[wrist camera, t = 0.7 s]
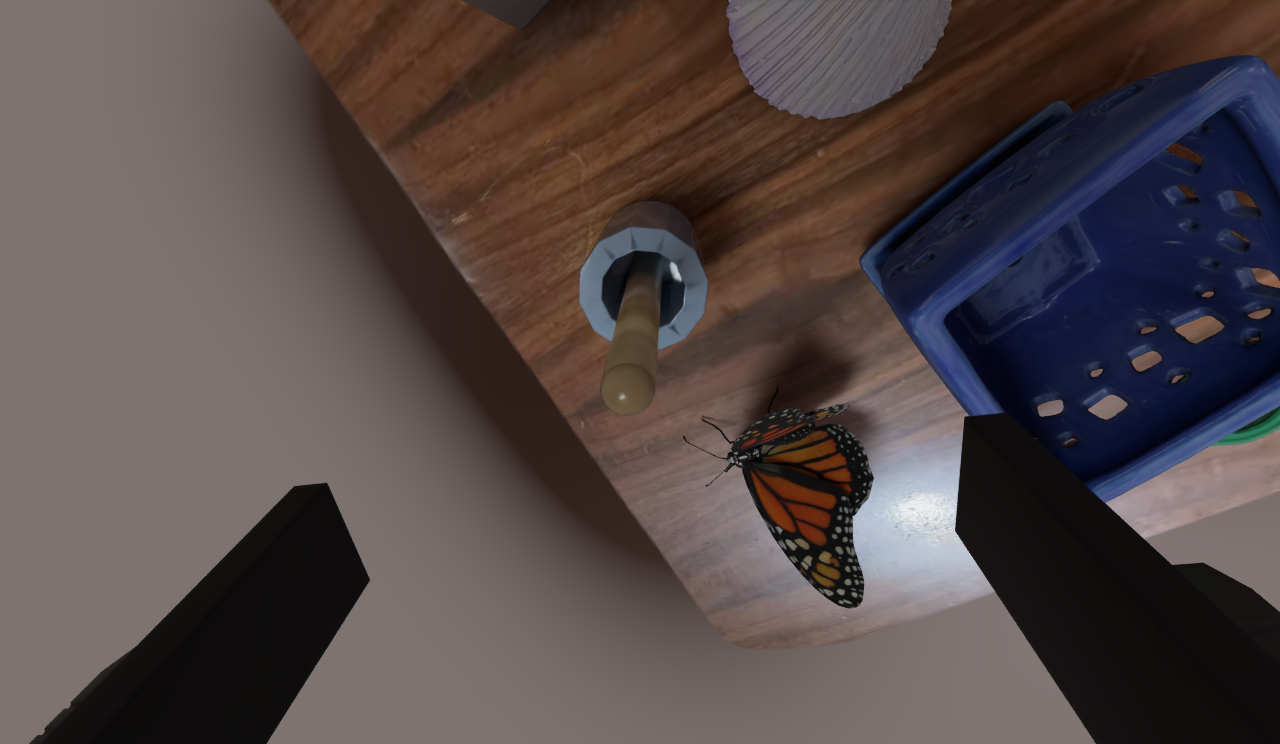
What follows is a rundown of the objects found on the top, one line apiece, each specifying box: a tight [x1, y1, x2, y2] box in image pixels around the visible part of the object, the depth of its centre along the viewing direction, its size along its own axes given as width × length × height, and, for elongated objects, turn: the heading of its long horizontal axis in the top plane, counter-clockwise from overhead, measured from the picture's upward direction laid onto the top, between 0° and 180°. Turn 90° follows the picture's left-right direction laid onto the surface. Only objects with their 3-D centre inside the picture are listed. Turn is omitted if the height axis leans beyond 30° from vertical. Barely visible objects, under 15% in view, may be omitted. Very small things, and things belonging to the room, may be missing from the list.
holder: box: [579, 200, 708, 350], centre depth 29 cm, size 6×6×8 cm
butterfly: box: [683, 386, 874, 608], centre depth 33 cm, size 12×10×10 cm
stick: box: [600, 251, 663, 415], centre depth 24 cm, size 2×2×18 cm
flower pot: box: [859, 55, 1280, 503], centre depth 27 cm, size 13×13×12 cm
